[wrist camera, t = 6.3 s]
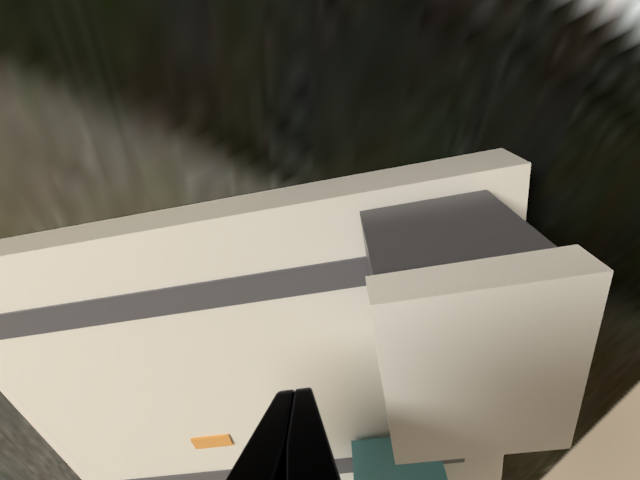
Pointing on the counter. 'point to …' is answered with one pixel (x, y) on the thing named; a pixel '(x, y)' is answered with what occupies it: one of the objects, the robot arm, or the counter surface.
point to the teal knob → (389, 463)
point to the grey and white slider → (478, 328)
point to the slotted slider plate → (214, 322)
